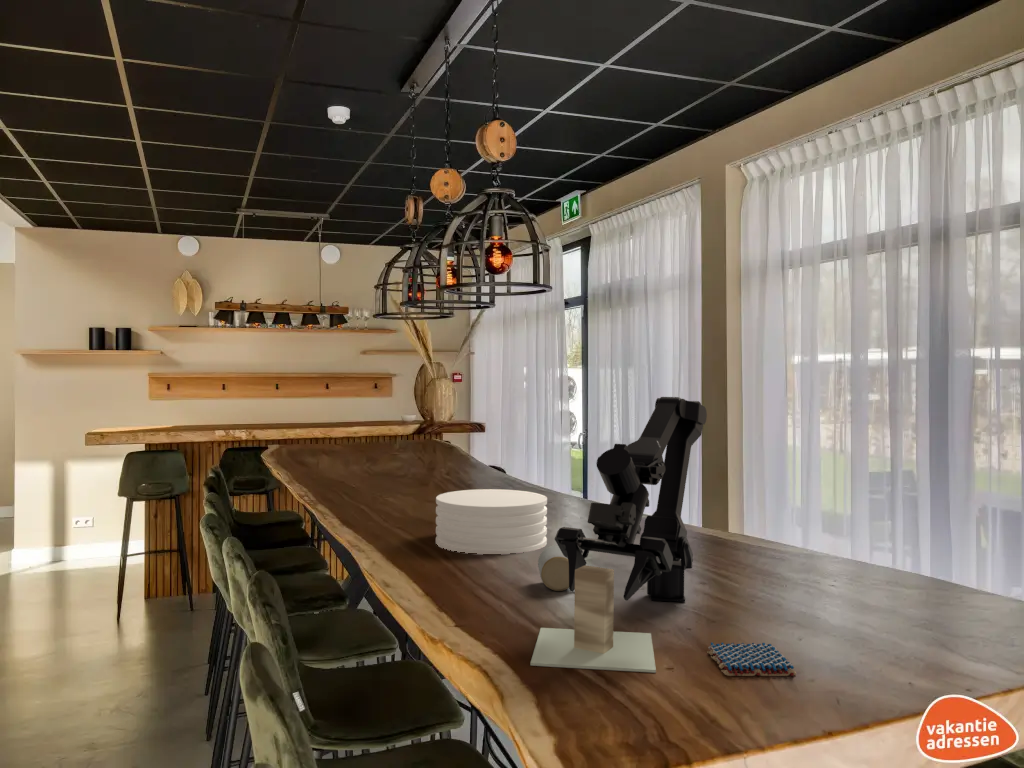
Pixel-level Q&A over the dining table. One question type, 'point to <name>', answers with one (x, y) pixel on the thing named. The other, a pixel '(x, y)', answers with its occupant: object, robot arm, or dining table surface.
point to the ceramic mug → (554, 568)
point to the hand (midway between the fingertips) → (597, 594)
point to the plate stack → (491, 521)
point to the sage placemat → (623, 656)
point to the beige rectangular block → (594, 609)
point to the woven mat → (750, 660)
